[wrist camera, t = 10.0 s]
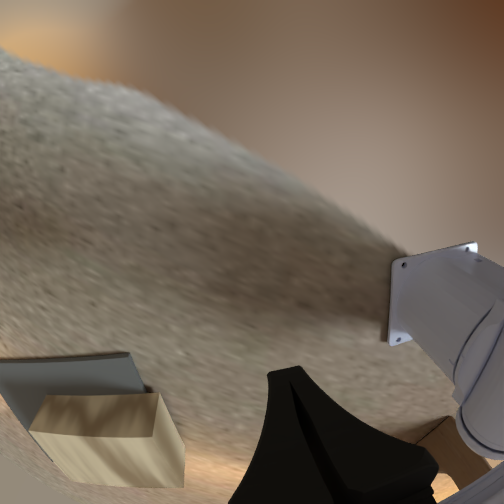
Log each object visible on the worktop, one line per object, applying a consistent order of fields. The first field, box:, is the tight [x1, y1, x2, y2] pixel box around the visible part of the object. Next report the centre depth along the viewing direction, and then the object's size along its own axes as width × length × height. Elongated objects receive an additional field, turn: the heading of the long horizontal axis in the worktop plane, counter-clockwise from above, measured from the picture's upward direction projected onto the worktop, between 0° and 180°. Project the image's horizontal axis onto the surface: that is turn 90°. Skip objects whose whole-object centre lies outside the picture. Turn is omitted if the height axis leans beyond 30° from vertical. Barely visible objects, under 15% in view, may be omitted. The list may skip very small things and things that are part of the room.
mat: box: [0, 353, 147, 462], centre depth 24 cm, size 18×16×1 cm
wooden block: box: [415, 416, 492, 490], centre depth 24 cm, size 9×4×18 cm, turn 136°
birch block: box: [28, 392, 185, 488], centre depth 22 cm, size 5×8×12 cm
